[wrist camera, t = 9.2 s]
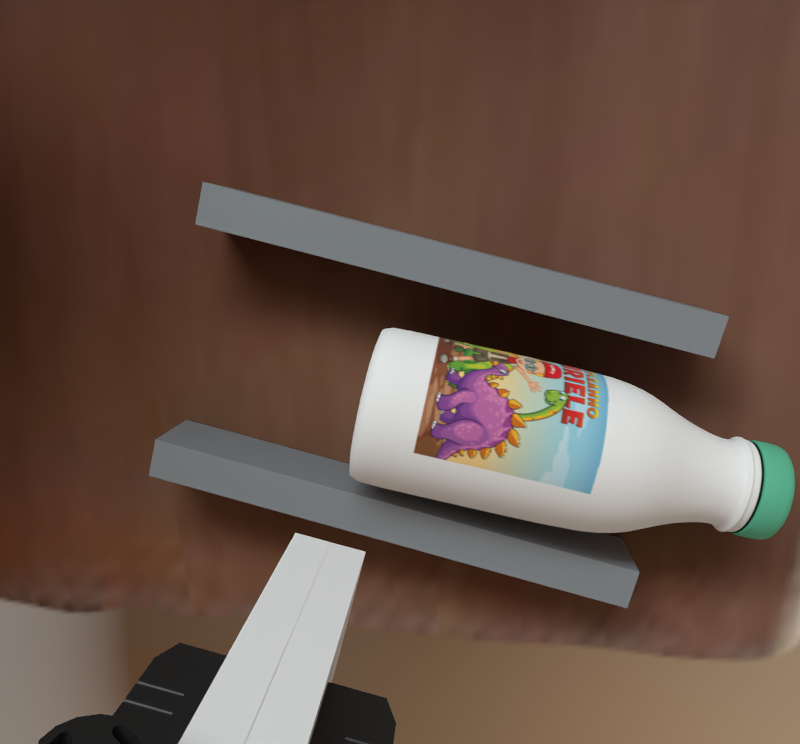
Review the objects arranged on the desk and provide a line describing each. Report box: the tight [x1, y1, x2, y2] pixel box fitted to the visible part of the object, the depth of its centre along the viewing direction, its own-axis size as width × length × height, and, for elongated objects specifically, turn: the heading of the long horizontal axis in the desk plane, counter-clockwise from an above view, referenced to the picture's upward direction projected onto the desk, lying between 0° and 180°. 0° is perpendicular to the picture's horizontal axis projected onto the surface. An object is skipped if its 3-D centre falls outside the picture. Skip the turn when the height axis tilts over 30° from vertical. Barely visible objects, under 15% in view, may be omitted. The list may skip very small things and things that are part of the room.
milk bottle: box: [349, 328, 795, 539], centre depth 34 cm, size 8×8×20 cm
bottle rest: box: [149, 182, 729, 608], centre depth 36 cm, size 25×15×4 cm, turn 76°
